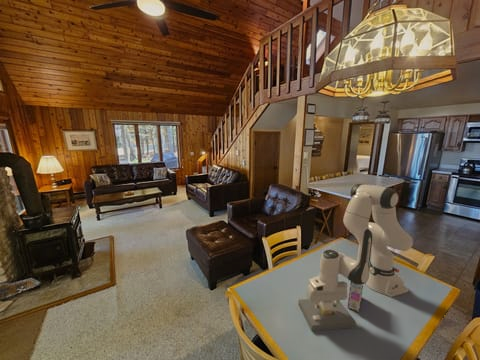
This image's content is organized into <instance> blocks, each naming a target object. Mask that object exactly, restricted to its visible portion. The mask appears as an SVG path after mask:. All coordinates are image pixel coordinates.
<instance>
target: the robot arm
mask: <svg viewBox="0 0 480 360" xmlns="http://www.w3.org/2000/svg"><path fill="white" fill-rule="evenodd" d="M398 202H399V194H398V192H397V191H396V190H395V189H393V188H390V187H384V186H381V185H372V184H365V183H355V184H354V185H353V186H352V187H351V190H350V199H349V202H348V204H347V206H346V208H345V211H344V215H343V219H342V221H343V225H344V226H345V228H346V229H347V231H349V232H350V233H351V234H352V235H353V236H354V237H355V239H357V242H358V251H357V258H356V259H354V258H352V257H350V256H349V255H346V254H345V253H342V252H340V251H335V250H333V249H325V250H324V251H322V253H321V256H320V261H319V269H320V271H319V273H318V275H316V276H314V277H311V278H310V279H308V283H309V284H308V285H307V288H306V294H305V295H306V299H308V300H309V301H310V302H314V303H315V307H316V309H317V308H319V304H318V302H321V301H334V302H333V307H337V304H338V303H339V302H341V301H345V300H347V298H348V283H347V282H346V281H339V275H341V276H343V277H344V278H346V279H347V280H348V281H351V282H353V283H354V284H355V285H361V284H363V285H364V284H366V286H367V287H368V288H370V289H371V290H373V291H375V292H376V293H380V294H383V295H385V296H387V297H390V298H391V297H396V296H399V295H403V294H407V293H408V292H409V289H408V287H406V285H405V284H404V283H405V282H404V280H403V279H402V278H401V276H399V275H398V273H399V272H400V270H399V268H397V267H394V262H395V257H394V254H393V253H392V251H391V250H390V249H389V248H391V249H393V250H397V251H402V252H407V251H409V250H410V249H412V247H413V244H414V240H413V238H412V236H411V235H410V234H409V233H407V232H406V231H405V230H404V229H403V227H402V226H401V225H400V223H399V221H398V218H397V208H396V206H397V205H398ZM371 215H372V219H373V221H374V222H371V221H370V218H371ZM388 247H389V248H388Z"/></svg>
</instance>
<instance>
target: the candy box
mask: <svg viewBox="0 0 480 360" xmlns="http://www.w3.org/2000/svg"><path fill="white" fill-rule="evenodd" d="M349 281H350V280H349ZM363 287H364V284H361V285H355V284H354V283H353V282H351V281H350V282H349V291H348V302H347V308H348V309H350V310H352V311H355V312H356V313H357V312H358V313H360V312H361V304H362V303H361V301H362V297H363V290H364V289H363Z"/></svg>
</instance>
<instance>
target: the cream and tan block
mask: <svg viewBox="0 0 480 360" xmlns="http://www.w3.org/2000/svg"><path fill="white" fill-rule="evenodd" d="M319 310H320V312H321V313H322V315H332V311H333V302H332V301H321V302H320V305H319Z"/></svg>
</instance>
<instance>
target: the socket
mask: <svg viewBox="0 0 480 360" xmlns="http://www.w3.org/2000/svg"><path fill="white" fill-rule="evenodd" d="M332 302H334V301H332ZM318 304H319V305H320V302H318ZM298 306H299V310H301V312H302V315H303V317H304V319H305V320H306V323H307V325H308V327H309V330H310V331H311V332H314V331H326V330H337V329H349V328H351V329H352V328H355V327H356V324H357V321H356V320H355V319H354V318H353V316H352V315H351V313H350V312H349V311H348V310H347V308H346V307H345V306H344V304H343V303H342V302H341V301H340V302H339V303H338V304H337V307H333V311H332V315H322V313H321V312H320V310H319V308H317V309H316V307H315V303H314V302H310V301H309V300H308V299H307V298H305V299H303V298H302V299H298Z"/></svg>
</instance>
